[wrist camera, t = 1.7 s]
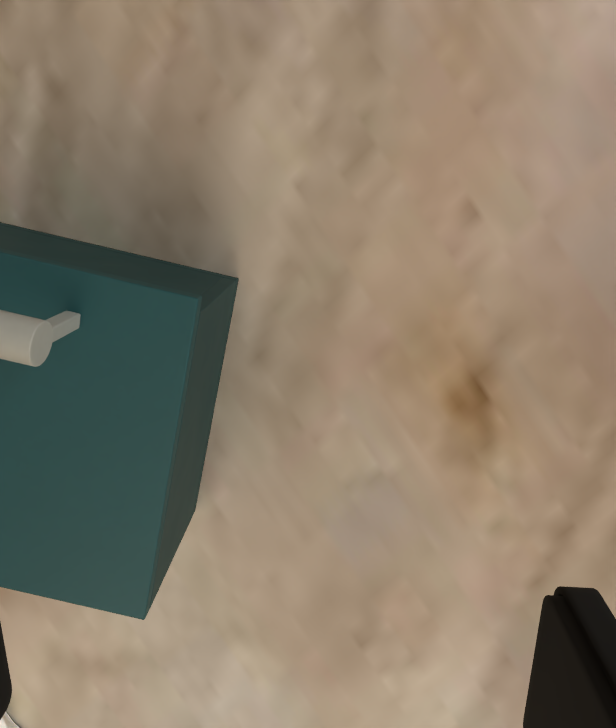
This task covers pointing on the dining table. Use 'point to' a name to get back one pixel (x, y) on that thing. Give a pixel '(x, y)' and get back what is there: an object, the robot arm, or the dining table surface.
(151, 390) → the case lid
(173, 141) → the dining table surface
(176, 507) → the case
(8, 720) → the rose
